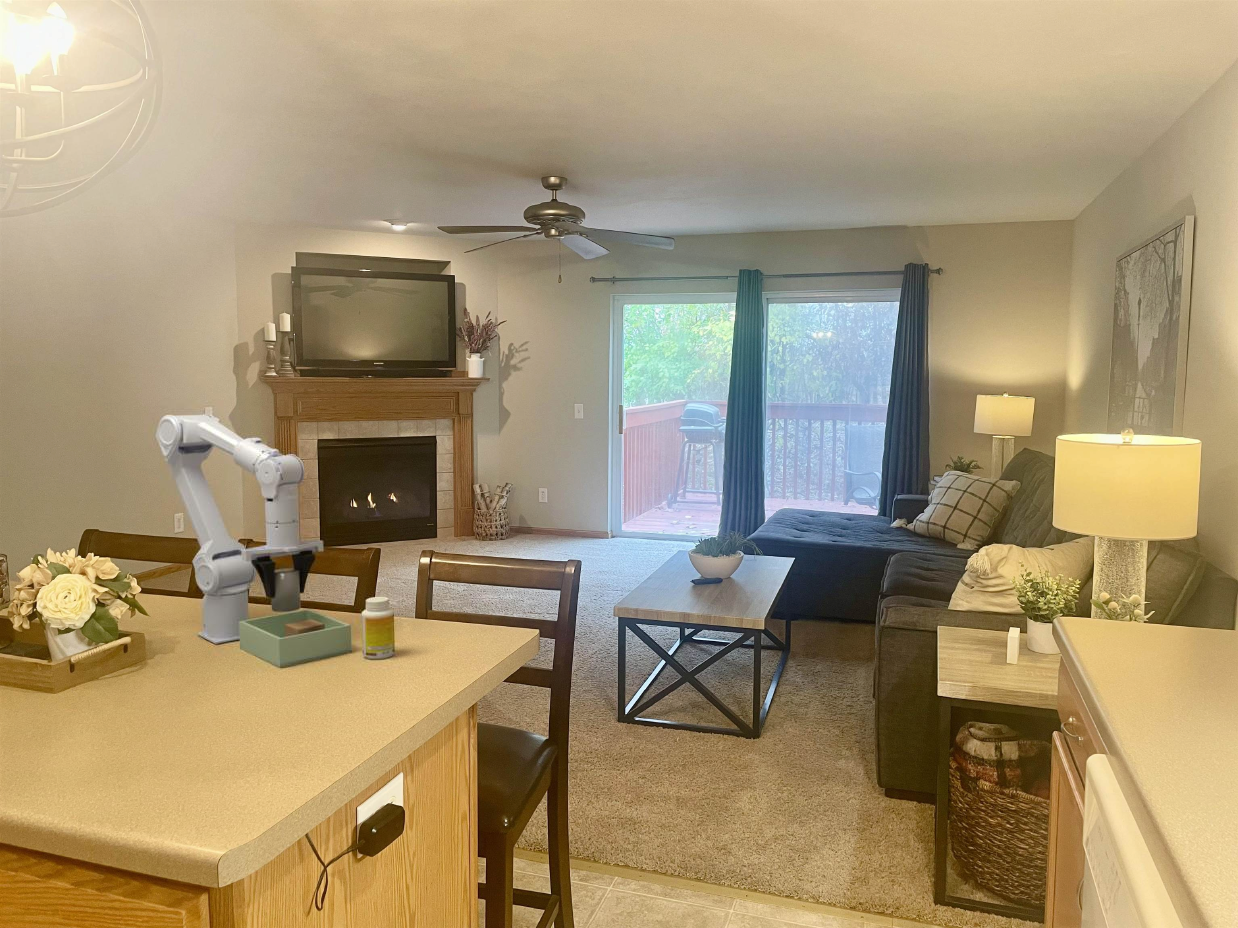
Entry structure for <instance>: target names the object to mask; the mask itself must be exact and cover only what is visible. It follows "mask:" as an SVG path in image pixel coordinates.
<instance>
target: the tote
mask: <svg viewBox="0 0 1238 928" xmlns="http://www.w3.org/2000/svg"><path fill="white" fill-rule="evenodd" d="M310 619H312V620H315V621H318V622H320V623H323V624H325V629H324V630H319V631H314V632H309V633H304V634H299V635H294V636H289V637H285V624H290V623H295V622H300V621H305V620H310ZM239 635H240V639H239V649H241V650H243V651H245V652H247V653H249V654H250V655H252V656H255V657H257V658H259V659H261V660H263V661H264V662H267V663H269V664H271V665H272V666H274V667H276V668H278V669H282V667H283V668H287V667H291V665H292V666H295V665H296V664H297V665H300V663H301V664H305V662H306V663H309V662H314V661H319V660H323V659H327V658H333V657H336V656H342V655H345V653H346V654H349V653H350V652H351V653H353V652H352V650H353V649H352V648H353V647H352V624H350V623H347V622H343V621H341V620H339V619H336V618H333V617H330V616H327V615H325V614H322V613H319V612H317V611H314V610H312V609H308V608H305V609H301V610H300V609H299V610H294V611H288V612H282V613H280V614H274V615H273V614H272V615H267V616H262V617H255V618H249V620H244V621H239Z"/></svg>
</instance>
